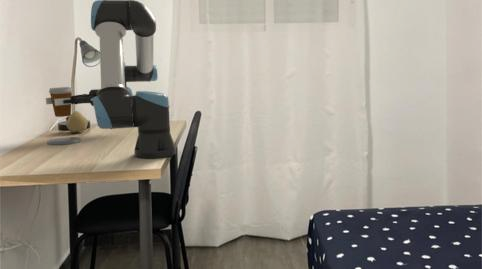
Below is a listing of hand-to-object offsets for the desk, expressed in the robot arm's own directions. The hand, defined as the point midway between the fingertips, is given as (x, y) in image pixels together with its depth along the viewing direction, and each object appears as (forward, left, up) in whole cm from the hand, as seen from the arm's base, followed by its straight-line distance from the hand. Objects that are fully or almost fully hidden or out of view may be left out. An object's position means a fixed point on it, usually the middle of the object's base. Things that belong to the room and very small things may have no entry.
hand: (50, 101), depth 197 cm
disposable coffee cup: (+4, -2, -7) cm, 8 cm away
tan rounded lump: (+27, +7, -18) cm, 33 cm away
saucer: (+4, -2, -18) cm, 18 cm away
